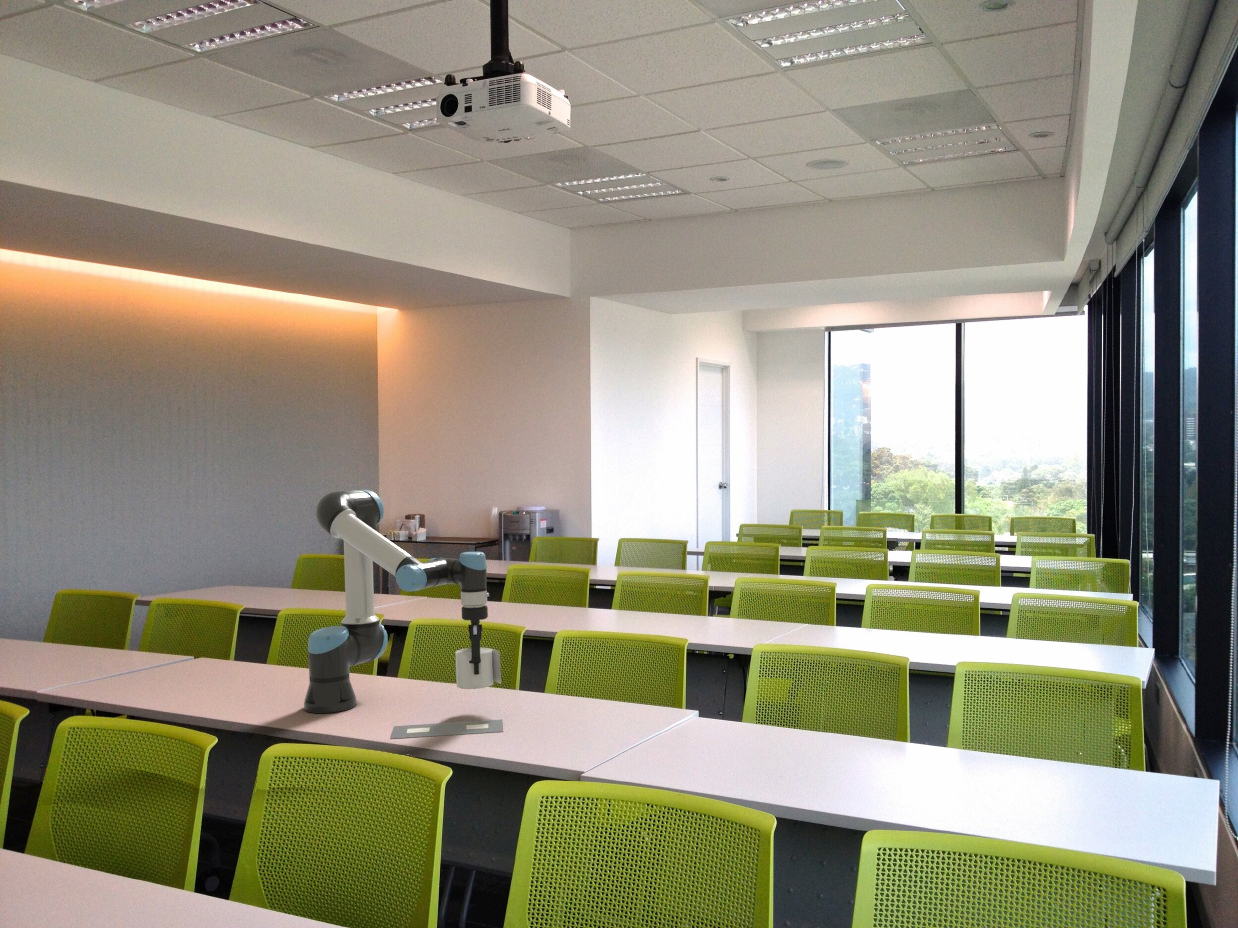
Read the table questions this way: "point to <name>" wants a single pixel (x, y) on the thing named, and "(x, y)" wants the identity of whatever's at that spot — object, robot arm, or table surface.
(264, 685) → the table surface
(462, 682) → the toilet tissue
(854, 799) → the table surface
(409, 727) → the label mat
